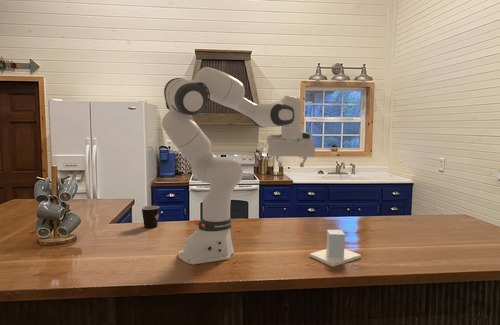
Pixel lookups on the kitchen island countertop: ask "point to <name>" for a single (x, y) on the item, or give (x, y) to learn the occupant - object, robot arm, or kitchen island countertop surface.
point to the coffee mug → (150, 216)
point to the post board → (335, 261)
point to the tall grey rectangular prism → (335, 243)
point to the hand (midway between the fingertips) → (290, 166)
